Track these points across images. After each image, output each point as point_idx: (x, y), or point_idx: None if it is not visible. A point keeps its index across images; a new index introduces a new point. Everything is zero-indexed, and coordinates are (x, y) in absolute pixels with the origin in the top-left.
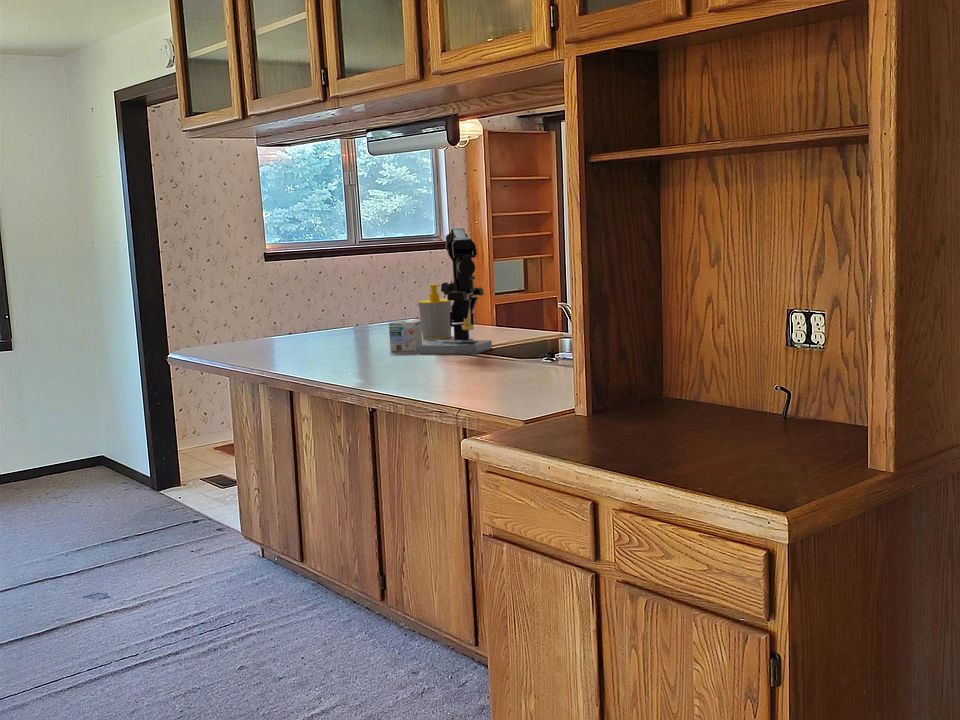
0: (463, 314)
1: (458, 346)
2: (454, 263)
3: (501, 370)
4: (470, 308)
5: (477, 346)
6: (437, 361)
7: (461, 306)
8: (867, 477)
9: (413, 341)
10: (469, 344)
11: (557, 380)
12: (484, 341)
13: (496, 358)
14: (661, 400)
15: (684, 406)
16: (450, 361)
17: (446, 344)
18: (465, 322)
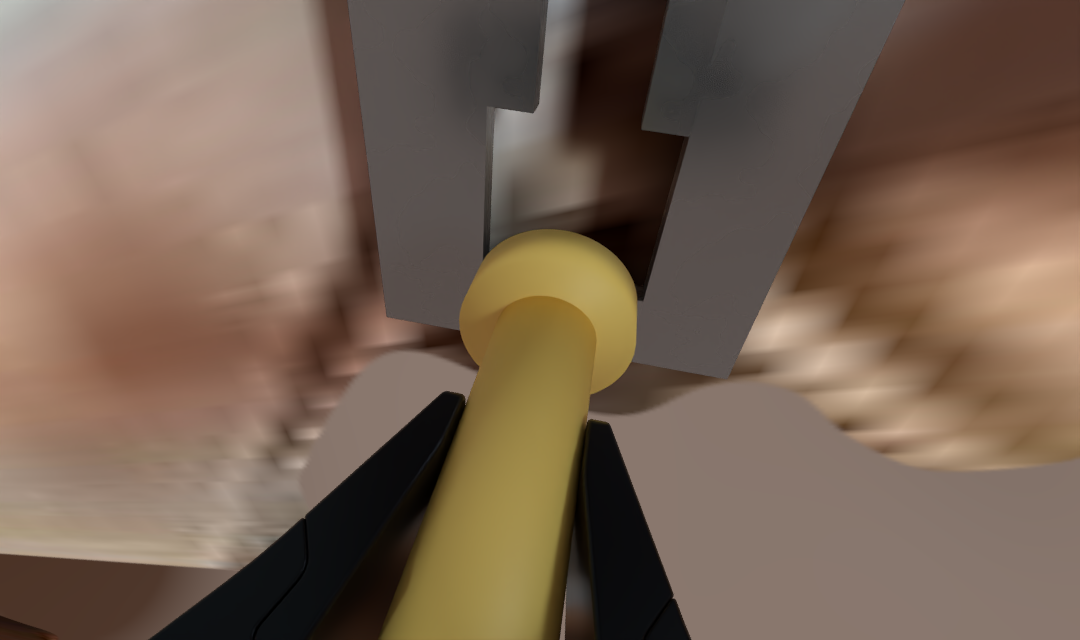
0: (392, 451)
1: (369, 156)
2: None
3: (52, 439)
4: (568, 636)
5: (416, 316)
6: (18, 41)
7: (247, 620)
8: None
9: None
10: (462, 248)
11: (39, 547)
12: (648, 339)
13: (301, 399)
14: (20, 626)
15: (9, 634)
16: (83, 160)
17: None
18: (486, 353)
